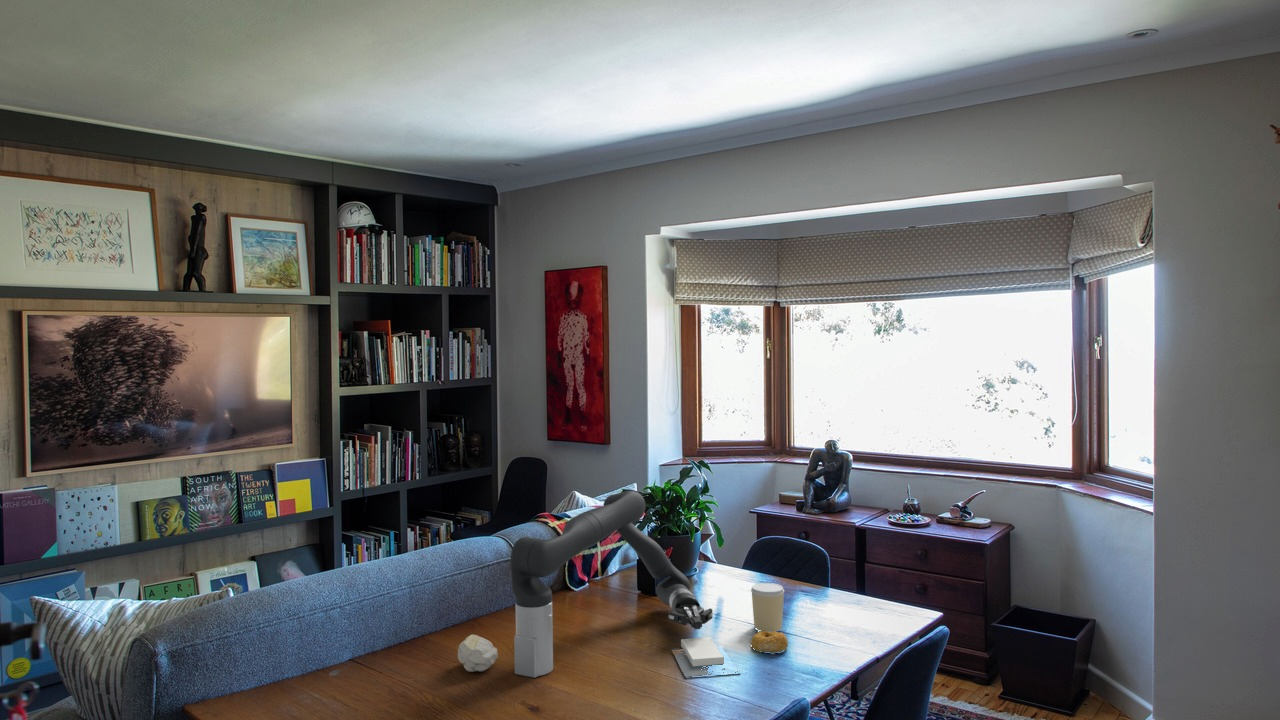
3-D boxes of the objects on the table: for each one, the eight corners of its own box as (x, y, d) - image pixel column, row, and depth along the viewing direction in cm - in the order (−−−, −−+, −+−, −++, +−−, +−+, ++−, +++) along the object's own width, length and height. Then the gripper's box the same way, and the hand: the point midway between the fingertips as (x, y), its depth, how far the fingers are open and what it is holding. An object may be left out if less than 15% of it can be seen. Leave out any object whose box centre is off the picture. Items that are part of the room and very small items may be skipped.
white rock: (494, 657, 213) (456, 666, 209) (491, 626, 213) (452, 634, 210) (503, 671, 201) (462, 680, 198) (499, 637, 202) (459, 646, 198)
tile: (681, 639, 216) (692, 659, 203) (710, 637, 218) (723, 657, 204) (681, 647, 216) (692, 667, 203) (710, 644, 218) (723, 665, 204)
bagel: (789, 642, 221) (789, 624, 221) (786, 658, 210) (786, 639, 210) (753, 639, 223) (752, 622, 223) (748, 655, 212) (748, 637, 212)
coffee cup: (783, 623, 235) (782, 582, 235) (785, 635, 226) (785, 592, 225) (750, 622, 236) (750, 582, 236) (752, 634, 227) (751, 591, 226)
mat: (671, 651, 215) (670, 649, 215) (721, 647, 217) (721, 645, 217) (685, 678, 197) (685, 676, 197) (740, 674, 199) (740, 672, 199)
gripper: (661, 593, 230) (673, 613, 213) (706, 590, 232) (721, 610, 215) (661, 619, 230) (673, 641, 213) (706, 616, 232) (722, 638, 215)
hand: (697, 625), depth 214 cm, fingers closed
